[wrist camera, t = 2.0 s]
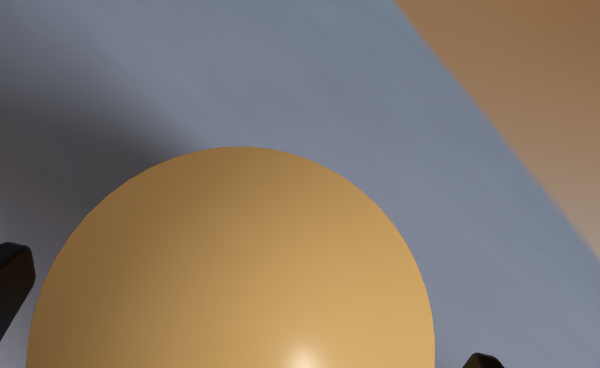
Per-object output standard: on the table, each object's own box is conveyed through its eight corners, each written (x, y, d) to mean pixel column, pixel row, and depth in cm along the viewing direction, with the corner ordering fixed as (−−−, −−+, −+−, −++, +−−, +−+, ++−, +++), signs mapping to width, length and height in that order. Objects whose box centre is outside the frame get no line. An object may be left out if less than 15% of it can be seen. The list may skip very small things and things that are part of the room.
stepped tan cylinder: (335, 353, 16) (541, 595, 4) (195, 371, 16) (-56, 715, 3) (318, 217, 17) (442, 78, 5) (187, 230, 17) (-31, 113, 5)
